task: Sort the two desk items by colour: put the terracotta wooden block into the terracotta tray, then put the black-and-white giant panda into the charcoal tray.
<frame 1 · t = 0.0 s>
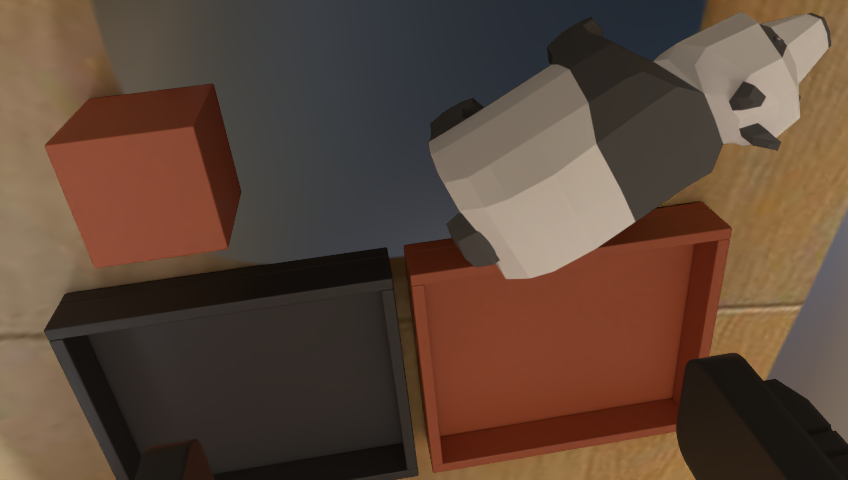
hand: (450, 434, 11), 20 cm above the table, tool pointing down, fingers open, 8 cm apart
giant panda: (556, 95, 29), on the table
terracotta tray: (553, 327, 36), on the table
terracotta block: (168, 148, 28), on the table
charcoal tray: (258, 373, 35), on the table
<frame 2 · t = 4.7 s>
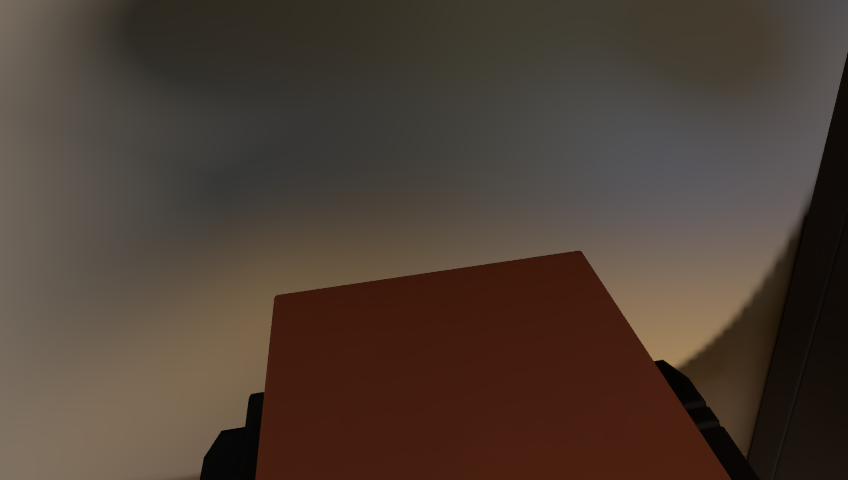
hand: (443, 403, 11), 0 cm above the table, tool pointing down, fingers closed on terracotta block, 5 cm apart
terracotta block: (441, 386, 12), on the table, touching gripper
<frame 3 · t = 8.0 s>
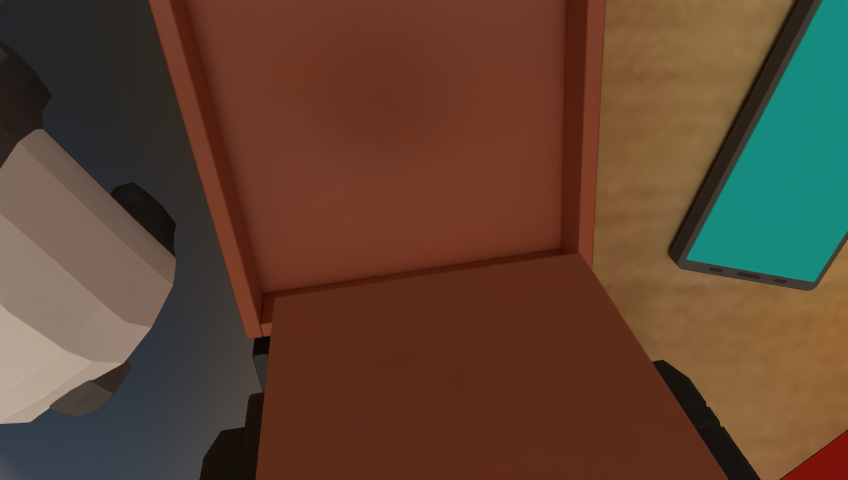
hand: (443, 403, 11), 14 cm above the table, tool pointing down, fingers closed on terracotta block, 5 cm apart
giant panda: (16, 142, 22), on the table
terracotta tray: (392, 94, 23), on the table
terracotta block: (441, 388, 12), point 14 cm above the table, touching gripper
charcoal tray: (430, 417, 31), on the table
smartphone: (824, 111, 26), on the table
when the fingers open (1 cm above the table, at t = 11.4 s): terracotta block stays where it is, resting on terracotta tray.
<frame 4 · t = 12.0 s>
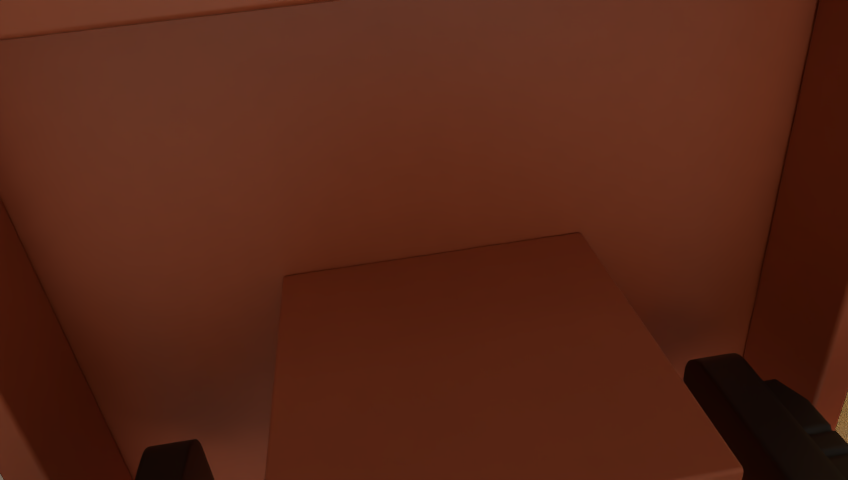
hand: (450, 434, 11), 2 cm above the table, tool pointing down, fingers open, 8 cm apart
terracotta tray: (433, 342, 13), on the table
terracotta block: (445, 367, 12), point 1 cm above the table, touching terracotta tray
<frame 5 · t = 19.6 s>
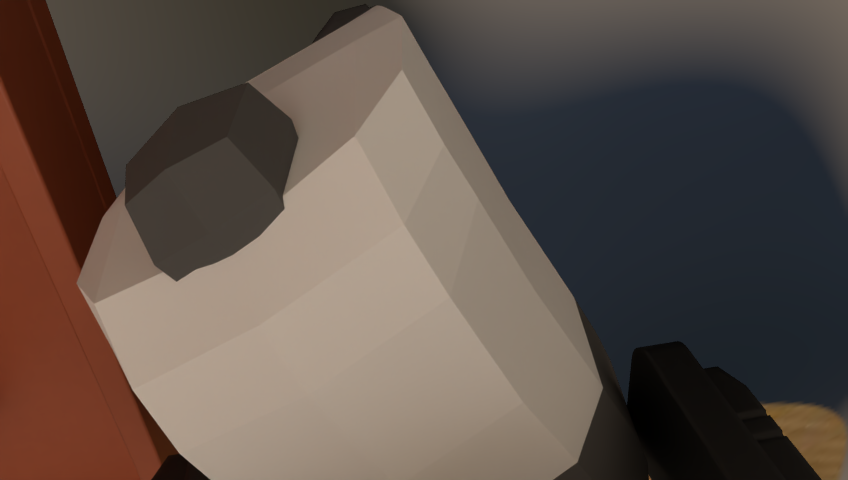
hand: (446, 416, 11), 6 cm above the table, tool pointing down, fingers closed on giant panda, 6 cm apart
giant panda: (412, 241, 16), on the table, touching gripper
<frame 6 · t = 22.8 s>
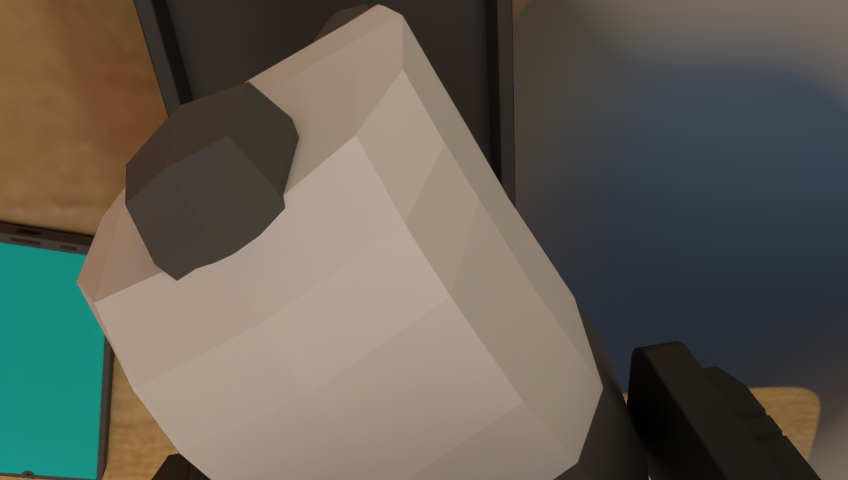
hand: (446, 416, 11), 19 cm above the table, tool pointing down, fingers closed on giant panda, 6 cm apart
giant panda: (412, 241, 16), point 13 cm above the table, touching gripper
charcoal tray: (338, 50, 27), on the table
smartphone: (33, 356, 32), on the table
when the fingers open (7 cm above the table, at t = 26.3 s): giant panda stays where it is, resting on charcoal tray.
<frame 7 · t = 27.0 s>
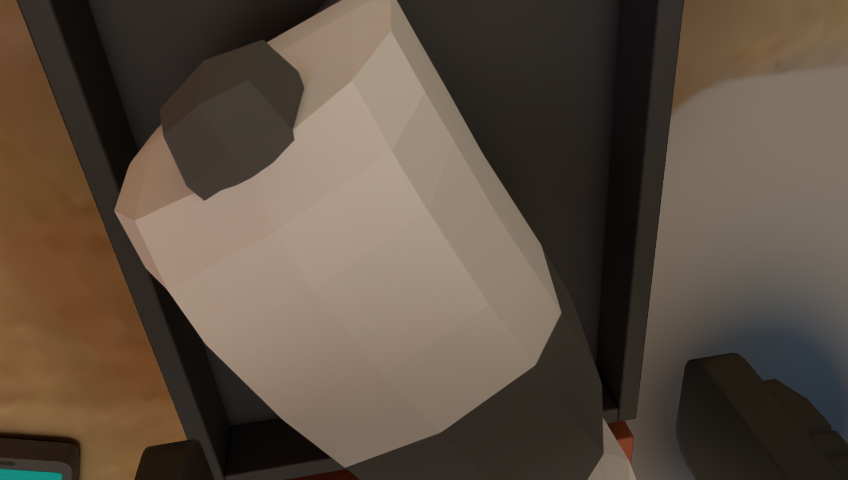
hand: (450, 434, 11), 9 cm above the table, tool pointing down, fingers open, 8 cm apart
giant panda: (399, 205, 18), point 1 cm above the table, touching charcoal tray
charcoal tray: (390, 192, 18), on the table
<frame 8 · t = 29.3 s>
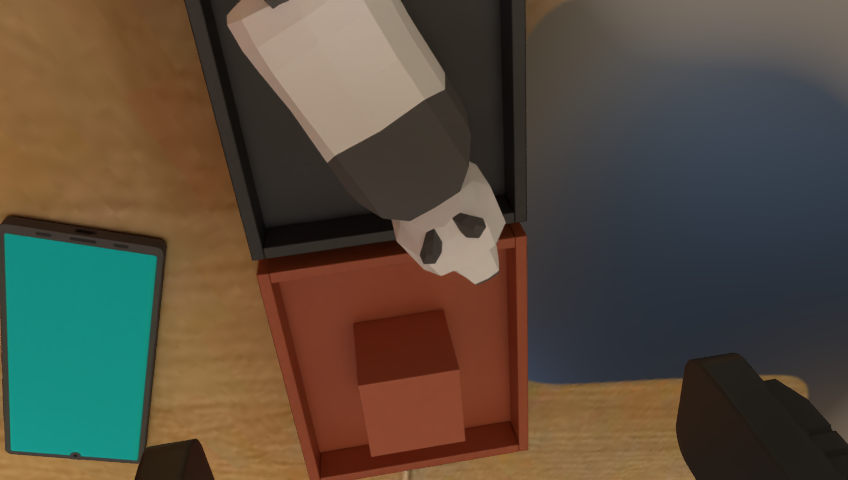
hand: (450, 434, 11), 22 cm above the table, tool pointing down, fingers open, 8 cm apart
giant panda: (372, 72, 29), point 1 cm above the table, touching charcoal tray
terracotta tray: (403, 341, 38), on the table
terracotta block: (403, 350, 37), point 1 cm above the table, touching terracotta tray
charcoal tray: (367, 67, 30), on the table
smartphone: (83, 346, 35), on the table
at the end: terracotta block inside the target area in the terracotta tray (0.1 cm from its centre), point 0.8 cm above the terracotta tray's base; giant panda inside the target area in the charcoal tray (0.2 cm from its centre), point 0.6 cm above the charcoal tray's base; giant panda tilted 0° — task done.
